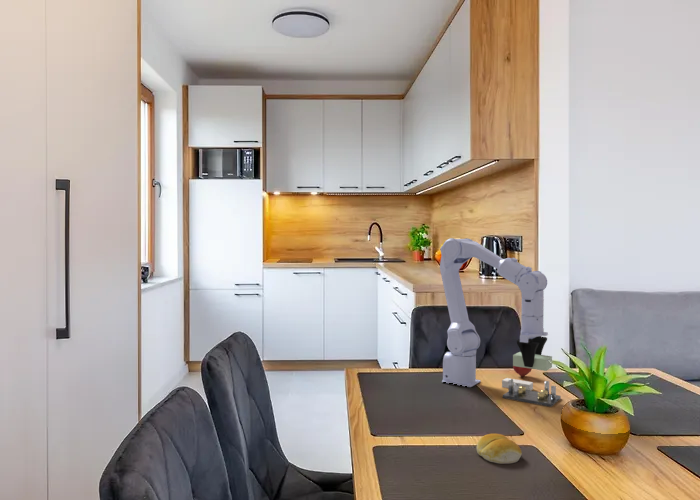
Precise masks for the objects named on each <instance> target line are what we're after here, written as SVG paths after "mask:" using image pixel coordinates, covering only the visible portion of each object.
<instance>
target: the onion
mask: <svg viewBox="0 0 700 500" xmlns="http://www.w3.org/2000/svg"><path fill="white" fill-rule="evenodd" d="M512 368H513V370H514V372H515V373H516V374H517V375H519V376H520V377H521V378H525V377H526V376H528V374H530V373H531V371H532V370H533V369H530V368H524V367H517V366H513V365H512Z"/></svg>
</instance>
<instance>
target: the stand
mask: <svg viewBox="0 0 700 500" xmlns="http://www.w3.org/2000/svg"><path fill="white" fill-rule="evenodd" d="M509 379H511V378H509V377H506V378H504V379H502V380H501V388H506V389H509ZM512 379H513V388H514V383H517V384H519V385H518V388H519V386H524V387H526V390H530V391H533V390H534V382H533V381H528V380H521V379H517V378H516V379H515V378H512Z"/></svg>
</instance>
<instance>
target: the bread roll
mask: <svg viewBox="0 0 700 500" xmlns="http://www.w3.org/2000/svg"><path fill="white" fill-rule="evenodd" d="M476 452H477V454H478V455H479V456H480V457H482V458H483V459H484V460H485V461H488V462H490V463H494V464H501V465H502V464H514V463H517V462H518V461H520V458H521V456H522V452H523V451H522V449H521V447H520V446H519V445H518V443H516V442H514V440H512V439H509V438H508V437H507V436H505V435H504V434H501V433H488V434H485V435H483V436H482V437H480V438H479V439H478V442H477V444H476Z"/></svg>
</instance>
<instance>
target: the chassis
mask: <svg viewBox="0 0 700 500" xmlns="http://www.w3.org/2000/svg"><path fill="white" fill-rule="evenodd" d="M513 379H514V378H510V379H509V388H508V391H507V392H505V393H504V394H502V398H503V399H507V400H512V401H517V402H522V403H527V404H528V403H529V404H533V405H539V406H544V407H549V408H552V407H553V406H554V405H555V404H557V403H558V401H560V400H562V399H561V398H562V396H561V395H558V394H557V387H556V386H555V385H551V386H550V381H549V380H544V389H541V390H540V391H535V390H531V391H530V390H526V387H524V386H519V388H518V385H519V384H517V383H514V388H513Z"/></svg>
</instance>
